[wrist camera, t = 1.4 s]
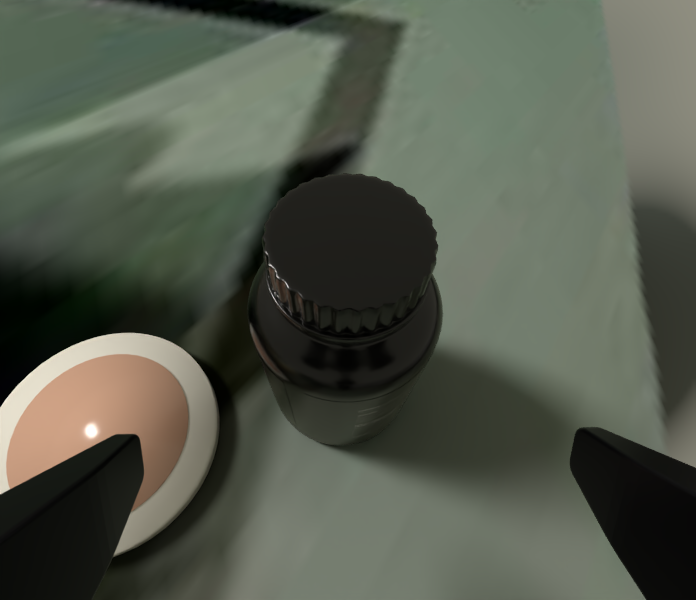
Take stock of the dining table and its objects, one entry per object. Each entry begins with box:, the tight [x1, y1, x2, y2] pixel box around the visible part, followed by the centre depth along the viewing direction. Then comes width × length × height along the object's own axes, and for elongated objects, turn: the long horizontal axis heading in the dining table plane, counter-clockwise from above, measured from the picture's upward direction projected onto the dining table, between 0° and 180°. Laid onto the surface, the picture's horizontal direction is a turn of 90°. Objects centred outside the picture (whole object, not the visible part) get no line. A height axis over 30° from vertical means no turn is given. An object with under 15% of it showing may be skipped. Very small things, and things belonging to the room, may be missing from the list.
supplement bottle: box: [248, 173, 443, 445], centre depth 16 cm, size 7×7×12 cm
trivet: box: [0, 333, 220, 557], centre depth 19 cm, size 10×10×1 cm
